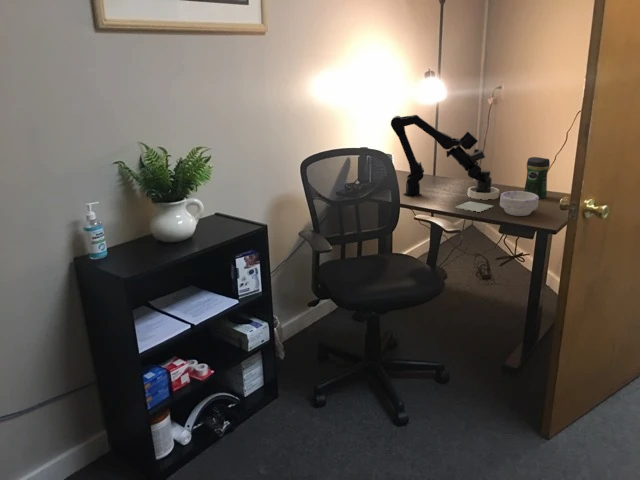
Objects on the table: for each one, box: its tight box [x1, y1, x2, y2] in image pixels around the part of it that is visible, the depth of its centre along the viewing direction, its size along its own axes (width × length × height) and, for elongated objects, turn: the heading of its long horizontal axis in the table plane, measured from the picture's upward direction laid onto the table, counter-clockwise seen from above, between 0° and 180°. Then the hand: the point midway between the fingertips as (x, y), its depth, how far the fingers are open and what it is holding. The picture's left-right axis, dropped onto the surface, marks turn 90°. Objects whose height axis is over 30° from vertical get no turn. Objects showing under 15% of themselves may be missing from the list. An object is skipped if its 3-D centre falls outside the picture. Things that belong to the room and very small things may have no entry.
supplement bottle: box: [475, 169, 493, 193], centre depth 248 cm, size 7×7×12 cm
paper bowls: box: [499, 190, 540, 217], centre depth 221 cm, size 15×15×8 cm
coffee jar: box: [523, 156, 551, 200], centre depth 242 cm, size 10×8×19 cm
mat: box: [454, 201, 494, 213], centre depth 232 cm, size 12×12×1 cm
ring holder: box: [466, 185, 500, 201], centre depth 250 cm, size 14×14×3 cm
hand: (484, 179), depth 247 cm, fingers open, 9 cm apart
